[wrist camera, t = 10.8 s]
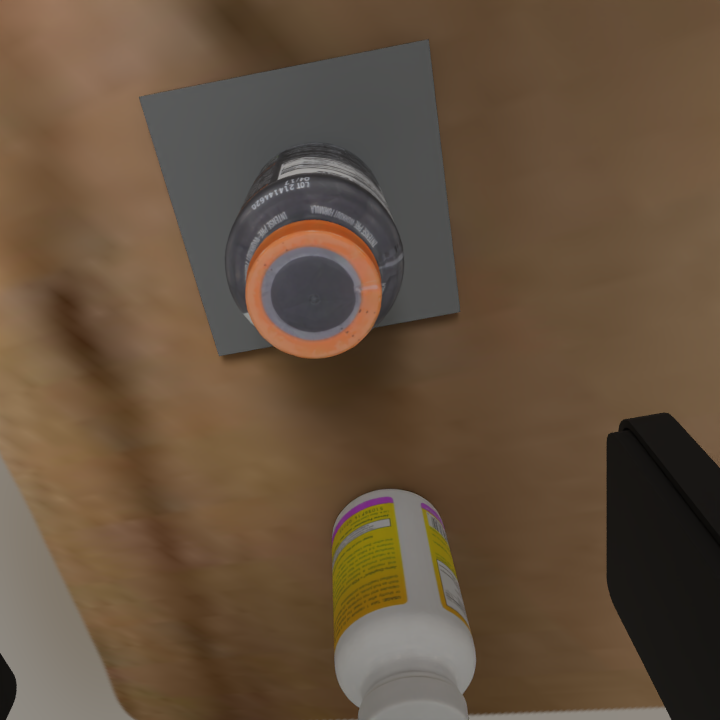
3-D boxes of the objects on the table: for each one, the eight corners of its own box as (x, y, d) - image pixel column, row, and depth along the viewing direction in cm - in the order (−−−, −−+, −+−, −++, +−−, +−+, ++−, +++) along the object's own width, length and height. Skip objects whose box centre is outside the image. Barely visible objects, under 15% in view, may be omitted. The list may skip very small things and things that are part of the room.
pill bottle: (303, 297, 30) (292, 424, 20) (222, 193, 28) (162, 277, 18) (409, 225, 29) (453, 321, 19) (333, 110, 27) (336, 149, 16)
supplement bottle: (316, 555, 39) (312, 771, 27) (353, 470, 36) (367, 669, 24) (418, 580, 40) (455, 797, 28) (461, 500, 37) (521, 702, 26)
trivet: (145, 95, 27) (138, 97, 26) (425, 39, 27) (428, 39, 26) (222, 347, 32) (219, 356, 31) (456, 304, 32) (460, 311, 31)
